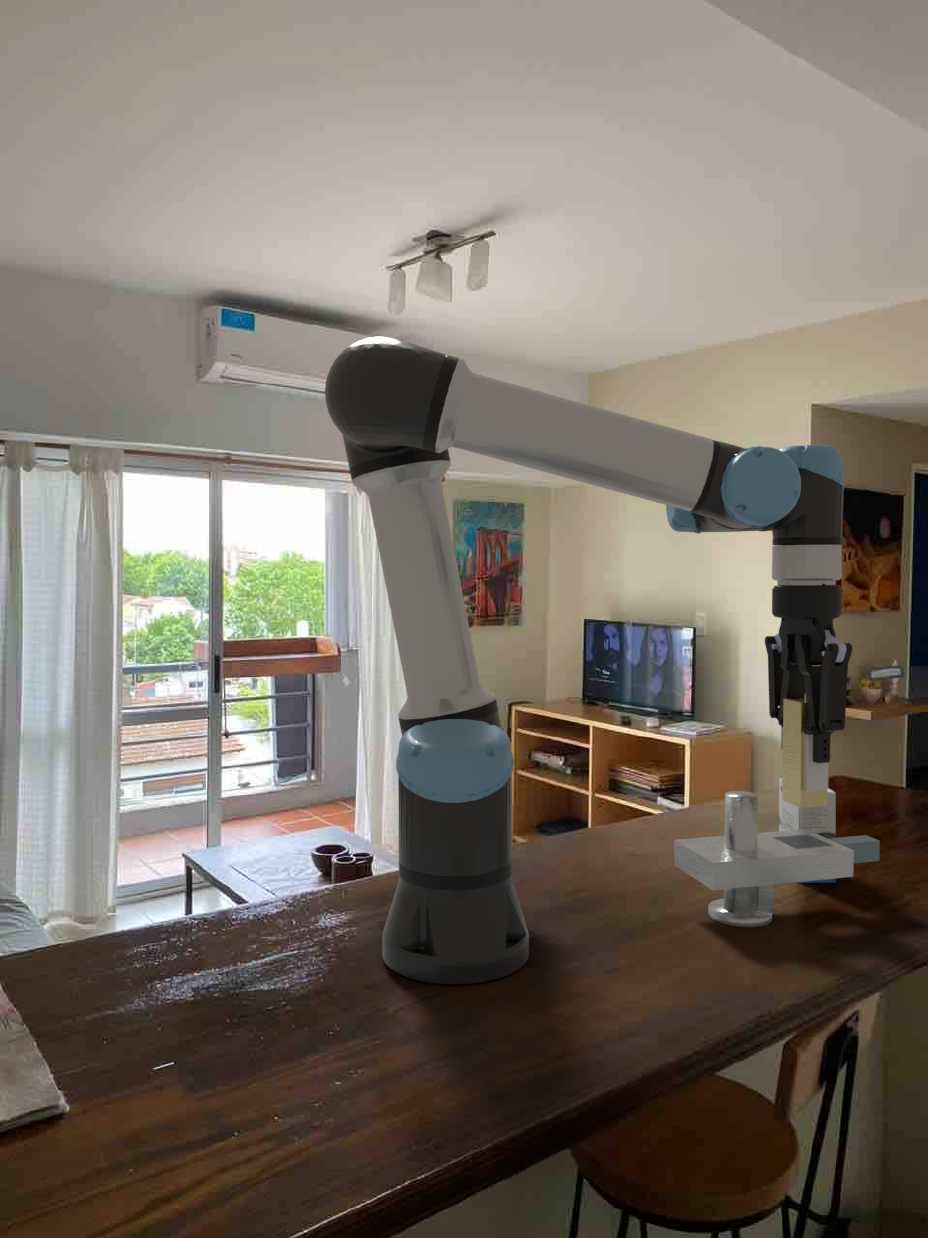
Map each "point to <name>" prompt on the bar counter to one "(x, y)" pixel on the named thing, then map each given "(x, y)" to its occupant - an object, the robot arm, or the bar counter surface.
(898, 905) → the bar counter surface
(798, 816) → the ink box
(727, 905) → the slotted post fixture
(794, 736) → the pale yellow rectangular block
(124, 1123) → the bar counter surface
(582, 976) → the bar counter surface
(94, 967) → the bar counter surface
